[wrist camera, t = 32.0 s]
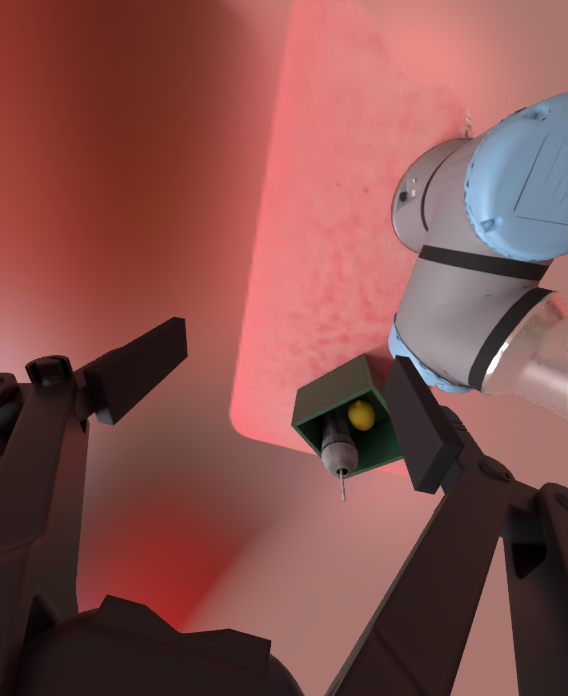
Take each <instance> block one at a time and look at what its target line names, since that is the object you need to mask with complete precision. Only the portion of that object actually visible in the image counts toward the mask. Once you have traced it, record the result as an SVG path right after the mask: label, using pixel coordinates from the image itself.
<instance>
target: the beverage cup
mask: <svg viewBox="0 0 568 696" xmlns="http://www.w3.org/2000/svg"><path fill="white" fill-rule="evenodd" d="M321 458H322V460H323V463H324V466H325V467H326V469H327V470H328V471H329V472H330V473H332V474H333V475H335V476H338V477H340V479H341V488H342V496H343V501H346V499H345V490H344V481H343V477H345V476H348V475H350V474H351V473H353V471H354V470H355V469H356V467H357V463H358V450H357V448H356V447H355V444H354V442H353V441H352V439H351V436H350V433H349V430H348V427H347V425H346V422H345V419H344V416H343V414H342V412H341V410H340V409H339V408H337V407H335V408H333V409H331V410H329V411H327V412H325V413H323V430H322V449H321Z"/></svg>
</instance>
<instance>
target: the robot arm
mask: <svg viewBox="0 0 568 696" xmlns="http://www.w3.org/2000/svg"><path fill="white" fill-rule="evenodd" d="M391 220H392V226H393V229H394V232H395V234H396V236H397V237H398V239H399V240H400V242H401V243H402V244H403V245H404V246H406V247H407V248H408V249H410V250H412V251H414V252H416V253H419V257H418V258H417V261H416V264H415V266H414V269H413V272H412V274H411V277H410V280H409V282H408V285H407V287H406V290H405V293H404V295H403V298H402V301H401V303H400V306H399V309H398V311H397V313H395V315H394V318H393V326H392V329H391V332H390V335H389V338H388V344H389V350H390V353H391V355H392V356H393V358H394V361H393V364H392V367H391V370H390V372H389V375H388V378H387V381H386V383H385V386H384V389H383V391H382V393H383V396H384V399H385V402H386V405H387V409H388V412H389V415H390V418H391V421H392V424H393V427H394V430H395V433H396V436H397V439H398V442H399V445H400V448H401V451H402V454H403V457H404V460H405V463H406V466H407V469H408V472H409V475H410V478H411V481H412V484H413V487H414V490H415V491H420V492H425V493H429V494H435V493H436V491H437V489H438V488H439V486H440V485H441V487H442V489H443V491H444V494H445V496H444V497H443V499H442V500H441V502H440V503H439V505H438V506H437V508H436V509H435V511H434V514H433V515H432V517H431V519H430V520H429V522H428V524H427V525H426V527H425V529H424V530H423V532H422V534H421V535H420V537H419V539H418V541H417V542H416V544H415V546H414V547H413V549H412V551H411V552H410V554H409V556H408V557H407V559H406V561H405V562H404V564H403V566H402V567H401V569H400V571H399V573H398V574H397V576H396V577H395V579H394V581H393V582H392V584H391V586H390V588H389V589H388V591H387V593H386V594H385V596H384V598H383V600H382V601H381V603H380V605H379V606H378V608H377V609H376V611H375V613H374V615H373V616H372V618H371V620H370V621H369V623H368V625H367V626H366V628H365V630H364V631H363V633H362V635H361V636H360V638H359V640H358V641H357V643H356V645H355V646H354V648H353V650H352V652H351V653H350V655H349V657H348V658H347V660H346V662H345V663H344V665H343V667H342V668H341V670H340V671H339V673H338V675H337V676H336V677H335V679H334V681H333V682H332V684H331V685H330V687H329V689H328V690H327V692H326V694H325V695H324V696H450V694H451V691H452V688H453V684H454V681H455V678H456V674H457V671H458V668H459V665H460V662H461V658H462V655H463V651H464V649H465V645H466V642H467V639H468V636H469V632H470V629H471V626H472V623H473V619H474V616H475V613H476V610H477V606H478V603H479V600H480V597H481V593H482V590H483V587H484V584H485V580H486V577H487V574H488V571H489V567H490V564H491V561H492V558H493V554H494V551H495V548H496V545H497V541H498V538H499V536H500V537H502V538H503V543H504V551H505V562H506V572H507V582H508V592H509V601H510V612H511V621H512V631H513V640H514V650H515V660H516V670H517V679H518V690H519V696H568V488H566V487H564V486H561V485H559V484H556V483H546V484H544V485H543V486H542V487H541V488H540V489H539V490H538V489H536V488H533V487H531V486H528V485H526V484H524V483H521V482H519V481H517V480H515V478H514V477H513V475H512V473H511V472H510V471H509V470H508V469H507V468H506V467H505V466H504V465H502V464H501V463H500V462H498V461H497V460H495V459H493V458H491V457H489V456H486V455H484V454H483V452H482V451H481V449H480V448H479V447H478V445H477V443H476V442H475V441H474V439H473V438H472V436H471V435H470V433H469V432H467V429H466V428H465V426H464V425H462V422H461V421H460V419H459V417H458V416H457V415H456V414H455V413H454V412H453V411H452V410H451V409H449V408H448V407H446V406H441V405H439V404H438V402H437V401H436V399H435V397H434V396H433V394H432V392H431V391H430V389H429V388H428V386H427V385H426V384H428V385H430V386H432V387H434V386H438V387H439V388H440V389H441V390H443V391H446V392H450V393H467V392H469V391H471V390H474V389H476V390H478V391H480V392H482V393H484V394H486V395H494V394H502V393H516V394H518V395H520V396H522V397H524V398H526V399H528V400H530V401H532V402H534V403H536V404H538V405H540V406H542V407H544V408H546V409H548V410H550V411H552V412H554V413H556V414H558V415H560V416H562V417H564V418H566V419H568V303H567V301H566V299H565V297H564V295H563V294H562V293H560V292H557V291H552V290H548V289H544V288H539V287H538V284H539V282H540V280H541V279H542V277H543V275H544V274H545V272H546V271H547V269H548V268H549V266H550V264H551V263H552V261H553V260H554V258H557V257H559V256H562V255H566V254H568V92H565V93H562V94H558V95H555V96H553V97H550V98H548V99H546V100H543V101H541V102H539V103H537V104H534V105H531V106H530V107H528V108H527V107H525V108H523V109H521V110H518V111H516V112H515V113H513V114H511V115H509V116H508V117H507V118H505V119H503V120H502V121H501V122H500V123H498V124H497V125H495V126H494V127H492V128H491V129H489V130H487V131H486V132H484V133H483V134H481V135H479V136H478V137H476V138H459V139H454V140H450V141H447V142H444V143H442V144H439V145H437V146H435V147H433V148H432V149H430V150H429V151H427V152H426V153H425V154H423V155H422V156H421V157H419V158H418V159H417V160H416V161H415V162H414V163H413V164H412V165H411V166H410V167H409V168H408V170H407V171H406V172H405V174H404V175H403V177H402V178H401V180H400V182H399V184H398V186H397V188H396V190H395V193H394V196H393V200H392V206H391ZM187 357H188V356H187V341H186V327H185V319H183V318H177V317H173V318H171V319H169V320H168V321H166V322H164V323H163V324H161V325H159V326H157V327H156V328H154V329H152V330H151V331H149V332H147V333H146V334H144V335H142V336H140V337H139V338H137V339H135V340H133V341H132V342H130V343H128V344H127V345H125V346H123V347H120V348H117V349H114V350H111V351H109V352H107V353H106V354H104V355H102V357H99V358H97V359H96V360H95V361H92V362H90V363H88V364H87V365H85V366H83V367H81V368H80V369H78V370H76V371H74V372H73V371H72V367H71V364H70V361H69V358H68V357H65V356H61V355H55V356H54V355H53V356H46V357H41V358H38V359H35V360H33V361H31V362H29V363H28V364H27V365H26V366H25V368H26V371H27V373H28V376H29V378H30V380H31V383H17V381H16V378H15V376H14V374H11V373H0V696H305V695H304V694H303V692H302V690H301V688H300V687H299V685H298V683H297V682H296V680H295V679H294V678H293V676H292V675H291V673H290V672H289V671H288V669H287V668H286V667H285V666H284V665H283V664H282V663H281V662H280V661H279V660H278V659H277V658H276V657H274V656H273V655H272V654H270V647H271V640H268V639H264V638H261V637H257V636H254V635H250V634H246V633H242V632H239V631H236V630H232V629H222V630H213V631H205V632H195V633H185V634H182V633H179V632H178V631H176V630H175V629H174V628H173V627H171V626H170V625H169V624H168V623H166V622H165V621H164V620H163V619H162V618H160V617H159V616H158V615H157V614H156V613H154V612H153V611H152V610H151V609H150V608H148V607H147V606H146V605H143V604H139V603H136V602H132V601H129V600H125V599H121V598H118V597H114V596H110V595H107V596H106V597H105V599H104V601H103V602H102V604H101V606H100V607H99V608H96V609H92V610H88V611H84V612H81V613H78V603H77V597H76V576H77V564H78V553H79V552H78V551H79V540H80V530H81V517H82V507H83V494H84V483H85V472H86V460H87V449H88V437H89V426H90V424H89V420H88V417H89V416H90V415H92V414H93V413H94V412H95V414H96V417H97V420H98V422H100V423H105V424H109V425H115V424H116V423H117V422H118V421H119V420H120V419H121V418H122V417H123V416H124V415H125V414H127V413H128V412H129V411H130V410H131V409H132V408H133V407H134V406H135V405H136V404H137V403H138V402H139V401H140V400H142V399H143V398H144V396H146V395H147V394H148V393H149V392H150V391H151V390H152V389H153V388H154V387H155V386H157V385H158V384H159V383H160V382H161V381H162V380H163V379H164V378H165V377H166V376H167V375H168V374H169V373H171V372H172V371H173V370H174V369H175V368H176V367H177V366H178V365H179V364H180V363H181V362H182V361H183V360H184V359H186V358H187Z"/></svg>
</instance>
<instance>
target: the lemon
mask: <svg viewBox="0 0 568 696" xmlns="http://www.w3.org/2000/svg"><path fill="white" fill-rule="evenodd" d="M348 416H349V419H350V421H351V423H352V425H353V426H354V427H355V428H357V429H358V430H362V431H365V430H368V429H370V428H371V427H372V426H373V424H374V421H375V413H374V410H373V408H372V406H371V405H370V404H369V403H368V402H366V401H364V400H356V401H354V402H353V403H351V405H350V406H349V409H348Z"/></svg>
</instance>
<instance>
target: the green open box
mask: <svg viewBox="0 0 568 696" xmlns="http://www.w3.org/2000/svg"><path fill="white" fill-rule="evenodd" d="M384 386H385V382H384V380H383V379H382V377H381V376H380V375H379V373H378V372H377V370H376V369H375V368H374V366H373V365H372V363H371V362H370V361H369V359H368V358H367V356H366V355H365V354H364V353H363V354H362V355H360V356H358V357H356V358H354V359H353V360H351V361H349V362H347V363H345V364H343V365H342V366H340V367H338V368H336V369H334V370H333V371H331V372H329V373H327V374H325V375H324V376H322V377H320V378H318V379H316V380H314V381H313V382H311V383H309V384H307V385H305V386H304V387H302V388H300V389H298V390H297V395H296V401H295V406H294V412H293V417H292V423H291V426H292V427H293V428H294V429H295V430H296V431H297V432H298V433H299V435H300V436H301V437H302V438H303V439H304V440H305V441H306V442H307V443H308V444H309V446H310V447H311V448H312V449H313V450H314V451H315V452H316V453H317V454H318V455H319V457H320V458H321V449H322V430H323V413H325V412H327V411H329V410H331V409H333V408H335V407H337V408H339V409H340V410H341V412H342V414H343V416H344V419H345V422H346V425H347V427H348V430H349V433H350V436H351V439H352V441H353V442H354V444H355V447H356V448H357V450H358V463H357V467H356V469H355V470H354V471H353V473H351V474H350V475H348V476H345V477H343V479H345V478H349V477H351V476H354V475H357V474H360V473H363V472H366V471H369V470H371V469H374V468H377V467H380V466H383V465H386V464H389V463H392V462H395V461H397V460H400V459H403V458H404V457H403V454H402V451H401V448H400V445H399V442H398V439H397V436H396V433H395V430H394V427H393V424H392V421H391V418H390V415H389V412H388V409H387V405H386V402H385V399H384V396H383V393H382V391H383V389H384ZM356 400H364V401H366V402H368V403H369V404H370V405H371V406H372V408H373V410H374V413H375V421H374V424H373V426H372V427H371V428H370V429H368V430H365V431H362V430H358V429H357V428H355V427H354V426H353V425H352V423H351V421H350V419H349V416H348V409H349V406H350V405H351V403H353V402H354V401H356ZM321 459H322V458H321ZM339 479H340V477H339ZM340 480H341V479H340Z"/></svg>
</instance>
